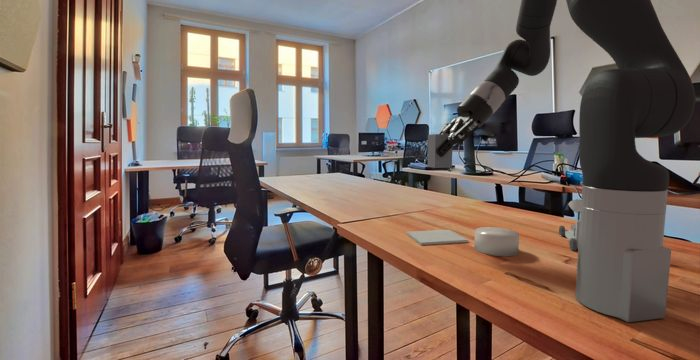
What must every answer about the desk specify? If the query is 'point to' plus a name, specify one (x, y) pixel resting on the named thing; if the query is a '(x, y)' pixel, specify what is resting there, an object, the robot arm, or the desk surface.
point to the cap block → (433, 157)
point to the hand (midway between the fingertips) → (434, 153)
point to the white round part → (496, 241)
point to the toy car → (573, 226)
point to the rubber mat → (436, 237)
